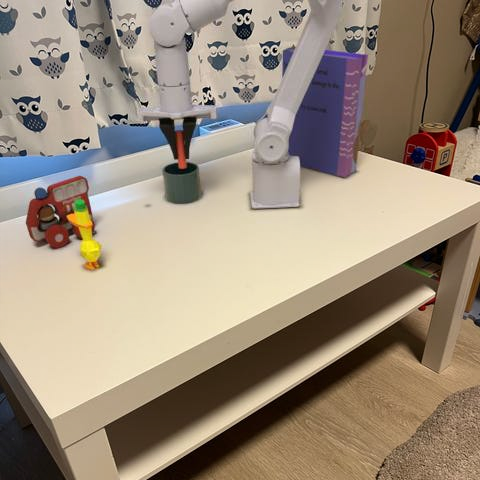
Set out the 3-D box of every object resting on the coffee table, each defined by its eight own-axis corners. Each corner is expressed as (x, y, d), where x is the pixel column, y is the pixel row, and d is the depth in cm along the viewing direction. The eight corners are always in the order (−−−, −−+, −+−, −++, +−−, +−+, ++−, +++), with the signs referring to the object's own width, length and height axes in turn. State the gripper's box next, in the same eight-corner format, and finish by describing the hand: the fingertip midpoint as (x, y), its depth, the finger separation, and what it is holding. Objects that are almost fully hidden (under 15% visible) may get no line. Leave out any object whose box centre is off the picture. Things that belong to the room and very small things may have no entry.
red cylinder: (187, 165, 103) (183, 129, 99) (186, 168, 102) (183, 132, 98) (178, 165, 103) (175, 130, 99) (178, 168, 102) (174, 132, 98)
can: (201, 188, 113) (199, 161, 109) (200, 202, 107) (198, 174, 104) (167, 189, 113) (164, 162, 109) (164, 204, 107) (160, 176, 104)
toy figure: (71, 263, 89) (54, 198, 82) (88, 255, 91) (73, 190, 84) (95, 277, 86) (79, 209, 78) (112, 268, 88) (98, 201, 81)
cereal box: (355, 171, 118) (368, 53, 103) (344, 178, 115) (355, 58, 100) (292, 155, 127) (296, 45, 112) (281, 161, 124) (282, 49, 110)
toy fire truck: (26, 241, 96) (9, 187, 90) (87, 220, 103) (75, 168, 96) (41, 255, 92) (24, 199, 86) (104, 232, 98) (93, 179, 92)
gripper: (130, 90, 90) (142, 166, 98) (214, 86, 90) (219, 163, 99) (135, 80, 96) (146, 153, 104) (214, 77, 96) (218, 150, 104)
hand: (181, 157), depth 102 cm, fingers closed on red cylinder, 1 cm apart
